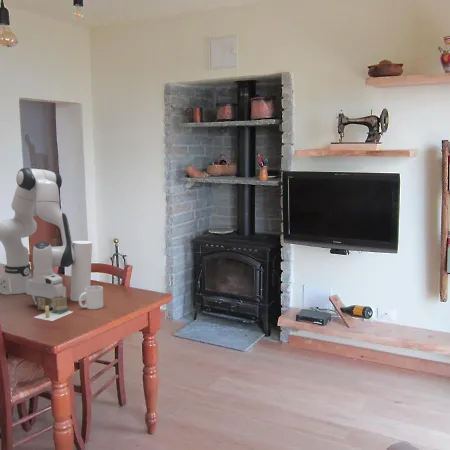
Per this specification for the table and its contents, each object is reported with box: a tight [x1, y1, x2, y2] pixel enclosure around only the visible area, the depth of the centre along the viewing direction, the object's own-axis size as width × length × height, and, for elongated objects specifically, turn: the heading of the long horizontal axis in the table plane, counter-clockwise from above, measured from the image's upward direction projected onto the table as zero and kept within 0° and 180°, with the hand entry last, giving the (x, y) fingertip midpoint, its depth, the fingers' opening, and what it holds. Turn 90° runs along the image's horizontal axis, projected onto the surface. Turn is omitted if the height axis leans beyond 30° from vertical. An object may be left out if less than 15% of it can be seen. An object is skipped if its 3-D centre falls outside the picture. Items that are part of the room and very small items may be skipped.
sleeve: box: [37, 296, 53, 312], centre depth 244 cm, size 5×5×7 cm
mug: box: [78, 285, 104, 310], centre depth 246 cm, size 12×8×10 cm
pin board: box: [33, 306, 74, 322], centre depth 235 cm, size 11×14×6 cm
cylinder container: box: [70, 240, 93, 302], centre depth 259 cm, size 9×9×30 cm
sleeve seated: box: [51, 296, 69, 314], centre depth 239 cm, size 5×5×7 cm
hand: (45, 305), depth 244 cm, fingers open, 8 cm apart
